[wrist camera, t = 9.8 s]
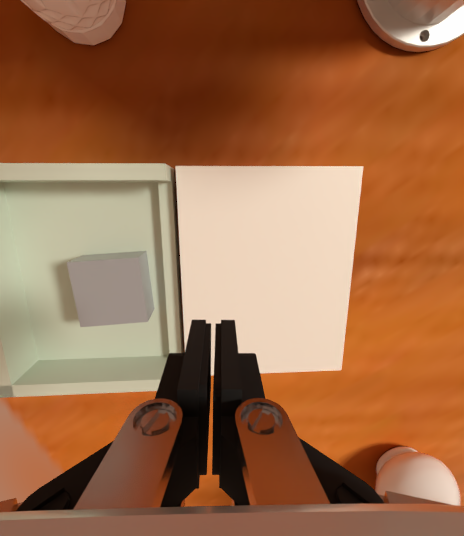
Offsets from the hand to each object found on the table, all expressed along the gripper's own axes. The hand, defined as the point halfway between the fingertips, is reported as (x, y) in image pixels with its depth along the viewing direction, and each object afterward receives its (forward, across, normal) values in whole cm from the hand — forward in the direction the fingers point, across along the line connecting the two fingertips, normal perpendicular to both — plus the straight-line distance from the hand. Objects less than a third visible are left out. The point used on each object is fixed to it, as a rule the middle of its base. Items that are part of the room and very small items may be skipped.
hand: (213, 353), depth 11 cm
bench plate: (+18, -5, +2) cm, 19 cm away
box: (+18, +12, +3) cm, 22 cm away
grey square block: (+17, +10, +3) cm, 20 cm away
